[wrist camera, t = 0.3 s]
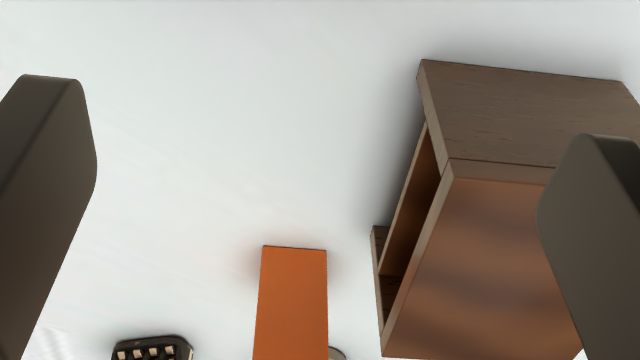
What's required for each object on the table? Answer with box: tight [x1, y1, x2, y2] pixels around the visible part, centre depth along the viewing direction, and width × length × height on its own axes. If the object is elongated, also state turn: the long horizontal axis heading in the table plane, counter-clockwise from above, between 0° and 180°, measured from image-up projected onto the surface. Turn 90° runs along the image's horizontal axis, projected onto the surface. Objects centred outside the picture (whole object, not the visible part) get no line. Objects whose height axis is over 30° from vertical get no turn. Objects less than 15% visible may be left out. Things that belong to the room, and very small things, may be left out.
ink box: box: [252, 246, 329, 360], centre depth 36 cm, size 4×4×10 cm
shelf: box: [370, 60, 640, 360], centre depth 30 cm, size 14×11×9 cm
